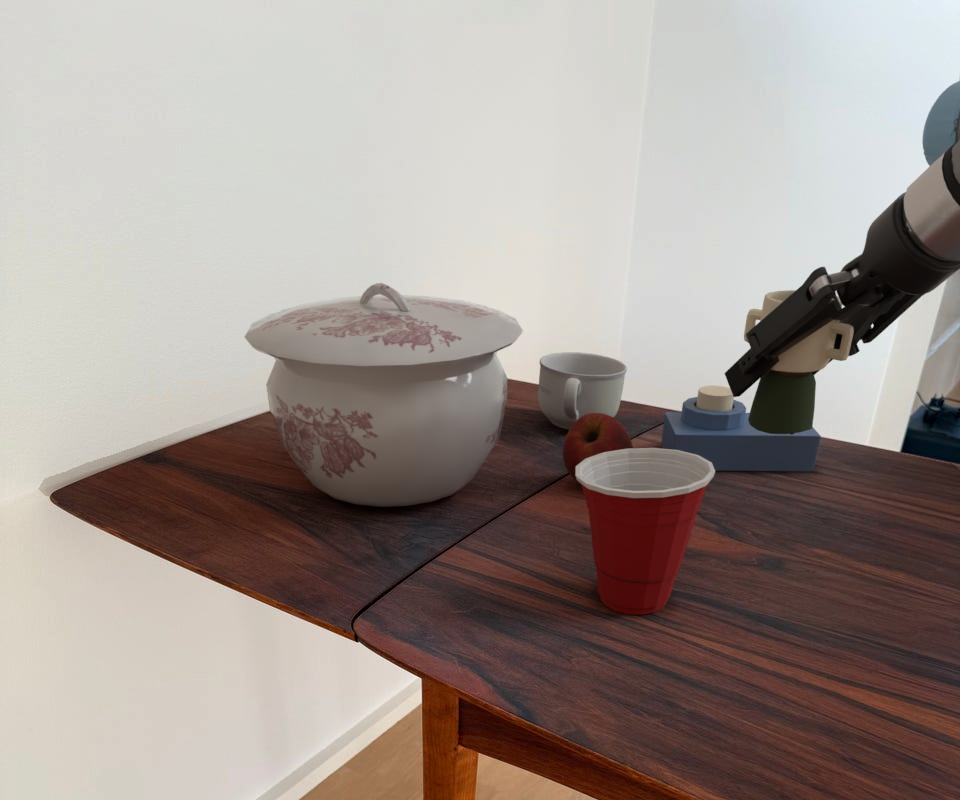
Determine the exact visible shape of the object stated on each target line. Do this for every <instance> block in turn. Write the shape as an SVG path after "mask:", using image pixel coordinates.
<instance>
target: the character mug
mask: <svg viewBox="0 0 960 800" xmlns="http://www.w3.org/2000/svg"><path fill="white" fill-rule="evenodd" d="M796 290H797V289H796ZM796 290H794V289H791V290H776V291H770V292H767V293H765V294H764V298H763V302H762V308H761V309H759V308H751V309H749V311H748V312H747V315H746V320H745V326H744V333H743V340H744V342H746V343H747V344H749V342H748V339H747V337H746V334H747V332H749V331H750V330H751V329H752V328H753V327H754V326H756V325H757V324H756V323H757V320H758V321H759V322H760V321H761V320H762V319H764V318H765V317H766V316H767V315H768V314H769V313H771V312H772V311H773V310H774V309H775V308H776V307H777V306H779V305H780V304H781V303H782V302H783V301H784V300H786V299H787V298H788V297H789V296H790V295H791V294H792V293H794V292H795V291H796ZM836 296H837V298H838V301H839V303H840V305H841V308H843V305H842V303H841V301H840V299H839V296H838V295H836ZM853 333H854V330H853V326H851V325H849V324H844V323H839V321H838V320H833V321H831V322H830V323H828V324H826V325H825V326H823V327H822V328H820V329H819V330H817V331H816V332H814V333H813V334H811V335H810V336H808V337H807V338H805V339H803V340H802V341H800V342H799V343H797V344H796V345H794V346H793V347H791V348H790V349H788V350H787V351H785V352H784V353H782V354H780V355H779V356H778V359H779V362H778V363H776V364H775V365H774V366H773V367H772V368H771V369H770V370H769V371H767V372H766V373H765V374H764V375H763V376H762V377H761V378H760V379H759V380H758V381H759V382H758V384H757V388H756V391H755V393H754V397H753V400H752V403H751V406H750V411H749V413H750V414H749V418H748V421H749V424H750V425H751V426H752V427H754V428H755V429H757V430H758V431H762V432H766V433H770V434H791V435H792V434H794V433H799V432H803V431H807V430H810V429H812V427H814V426H813V425H814V417H815V416H814V415H815V407H816V406H815V405H816V389H817V387H816V386H817V381H816V378H815V375H813V374H812V372H814V371H817V370H820V371H821V370H824V369H825V367H827V365H828V364H829V363H830V362H829V361H830V359H833V360H835V361H839V362H842V361H843V362H844V361H847V359H848V358H849V357H850V356H849V352H850V347H851V343H852V338H853ZM836 334H842V341H841V345H840V349H833V348H834V343H835V339H836ZM828 362H829V363H828Z"/></svg>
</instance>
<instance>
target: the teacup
mask: <svg viewBox="0 0 960 800" xmlns="http://www.w3.org/2000/svg"><path fill="white" fill-rule="evenodd" d="M627 370H628V368H627V365H626V364H625V363H624V362H622V361H620V360H618V359H616V358H613V357H609V356H605V355H601V354H597V353H596V354H595V353H588V352H575V351H574V352H572V351H571V352H570V351H569V352H565V351H564V352H555V353H554V352H553V353H549V354H546V355H543V356H542V357H541V358H539V378H538V392H537V395H538V397H537V399H538V400H537V401H538V406H539V409H540V411H541V412H542V414H543V415H544V416H545V417H546V418H547V419H548V420H549V422H550V423H551V424H552V425H554V426H555V427H558V428H561V429H565V430H568V431H569V430H570V429H571V427H572V426H573V424H574V423H575V422H576V421H577V420H578V419H579V418H580V417H582V416H584V415H586V414H589V413H602V414H606V415H609V416H611V417H613V418H615V416H616V415H617V414H618V411H619V409H620V405H621V400H622V395H623V389H624V384H625V377H626V373H627Z"/></svg>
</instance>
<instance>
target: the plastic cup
mask: <svg viewBox="0 0 960 800" xmlns="http://www.w3.org/2000/svg"><path fill="white" fill-rule="evenodd" d="M715 475H716V471H715V469H714V467H713V464H712V462H710V461H708V460H706V459H704V458H703V457H701V456H699V455H696V454H692V453H688V452H684V451H680V450H672V449H662V447H661V448H660V447H635V448H634V447H633V448H631V449H622V450H615V451H609V452H603V453H600V454H597V455H595V456H592V457H589V458H586V459H584V460H583V461H582V462H581V463H579V464H578V465H577V466H576V478H577V481H579V482H580V485H581V489H582V490H583V496H584V498H585V503H586V508H587V511H588V519H589V529H590V535H591V544H592V554H593V561H594V566H595V569H596V580H597V589H598V590H597V593H598V594H599V600H600V602H602V604H603V605H604V606H605V607H607V608H609V609H611V610H613V611H614V612H618V613H622V614H625V615H640V616H643V615H648V614H649V615H650V614H654V613H656V612H658V611H661V610H662V609H664V607H665V606H666V604H667V603H668V600H669V599H670V597H671V594H672V591H673V588H674V584H675V581H676V578H677V576H678V572H679V571H680V569H681V567H682V564H683V560H684V556H685V553H686V550H687V547H688V543H689V541H690V537H691V535H692V534H691V533H692V530H693V527H694V524H695V521H696V519H697V518H696V517H697V515H698V511H699V510H700V508H701V504H702V501H703V498H704V496H705V493H706V489H707V487H708V485H709V483H710V482H711V481H712V480H713V478H714V477H715ZM577 481H576V482H577Z"/></svg>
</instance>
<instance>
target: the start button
mask: <svg viewBox="0 0 960 800" xmlns="http://www.w3.org/2000/svg"><path fill="white" fill-rule="evenodd" d="M696 397H697V404H696V407H697V408H700V409H702V410H708V411H729V410H732V405H733V399H734V398H735V397H733V394H732V391H731V389H730V387H727V386H721V385H704V386H701V387H699V388H698V392H697V396H696ZM734 400H735V399H734Z"/></svg>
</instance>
